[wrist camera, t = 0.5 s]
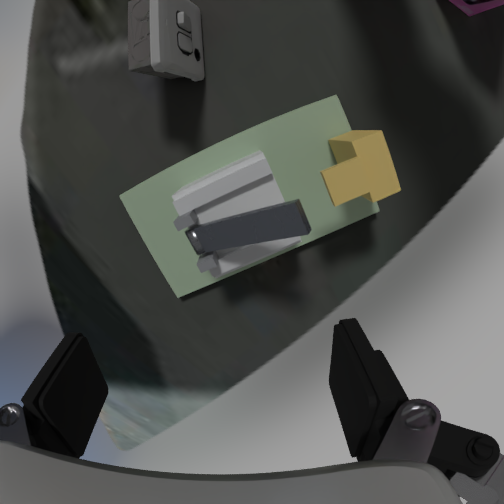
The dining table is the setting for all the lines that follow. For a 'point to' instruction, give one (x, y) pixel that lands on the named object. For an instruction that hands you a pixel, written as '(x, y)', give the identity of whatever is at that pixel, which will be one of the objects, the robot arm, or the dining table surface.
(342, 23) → the dining table surface
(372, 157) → the clip
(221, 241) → the lever
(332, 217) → the board
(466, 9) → the gum box
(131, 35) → the electrical switch
